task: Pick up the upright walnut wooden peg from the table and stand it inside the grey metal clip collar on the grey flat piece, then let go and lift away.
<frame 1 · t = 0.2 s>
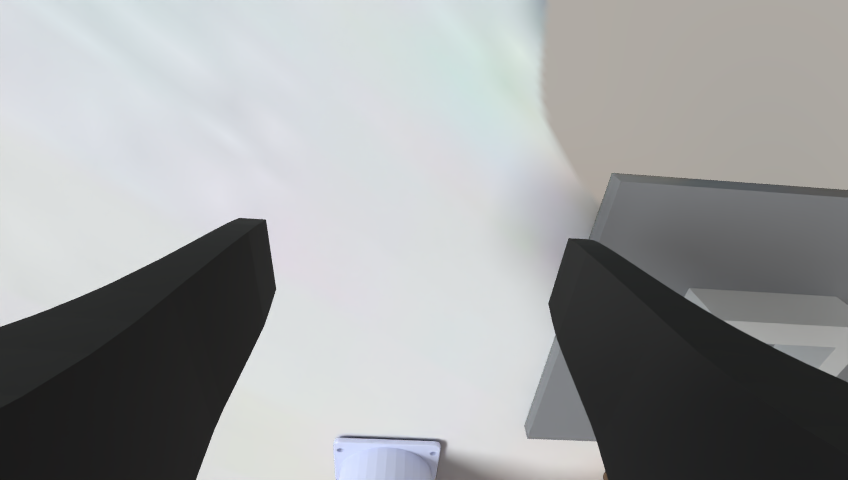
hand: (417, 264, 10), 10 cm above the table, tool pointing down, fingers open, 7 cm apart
grey flat piece: (716, 334, 25), on the table
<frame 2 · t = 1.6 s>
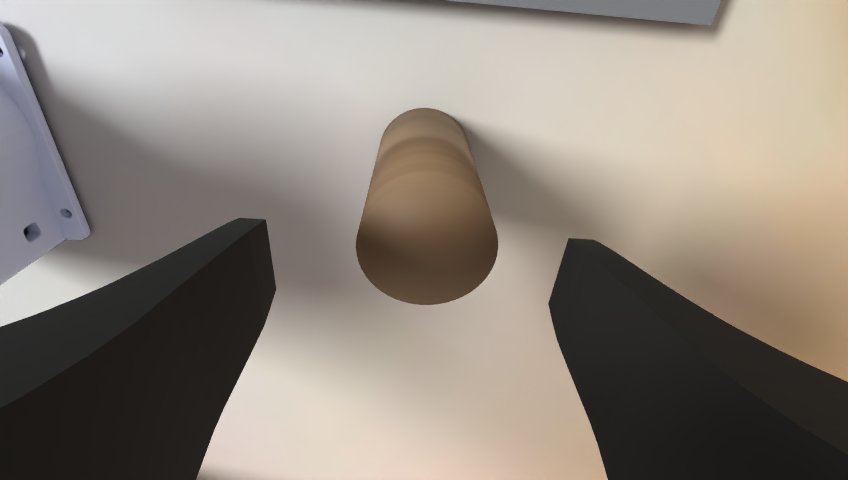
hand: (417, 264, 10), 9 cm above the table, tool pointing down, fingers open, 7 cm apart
walnut peg: (424, 153, 18), on the table
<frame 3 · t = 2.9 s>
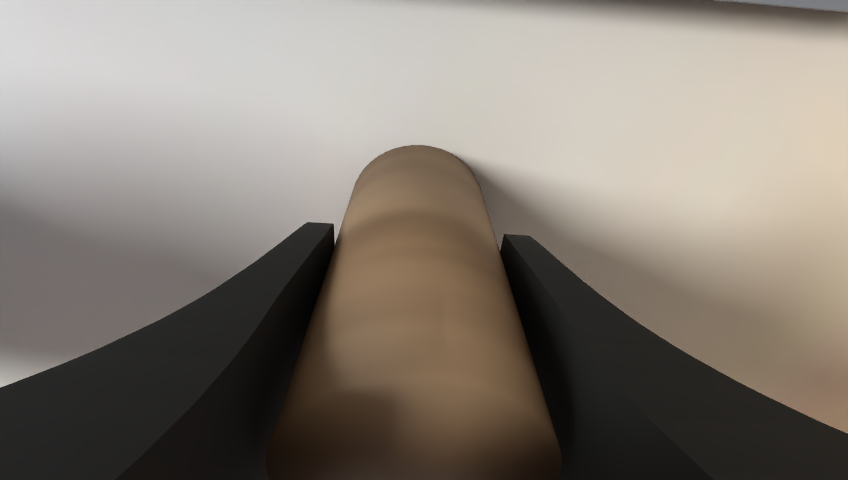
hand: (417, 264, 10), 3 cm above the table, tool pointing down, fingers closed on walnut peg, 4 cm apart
walnut peg: (417, 208, 12), on the table, touching gripper
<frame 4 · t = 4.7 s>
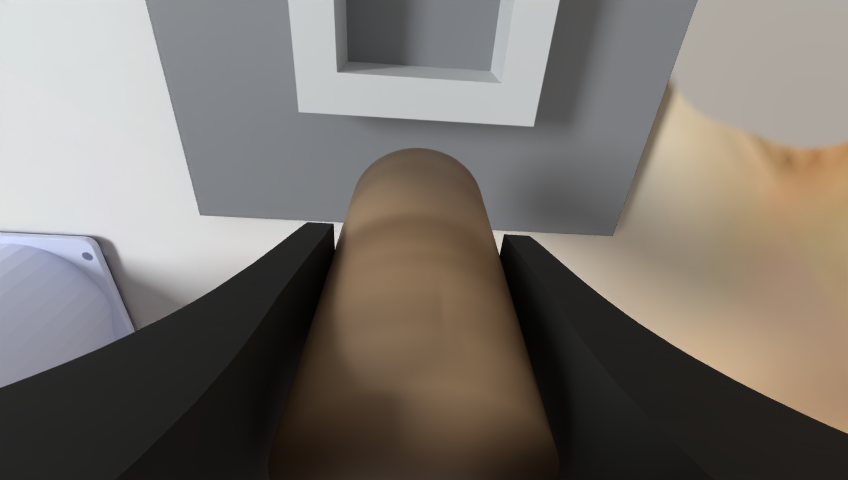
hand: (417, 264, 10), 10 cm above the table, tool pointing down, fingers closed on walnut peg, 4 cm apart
walnut peg: (417, 210, 12), point 7 cm above the table, touching gripper
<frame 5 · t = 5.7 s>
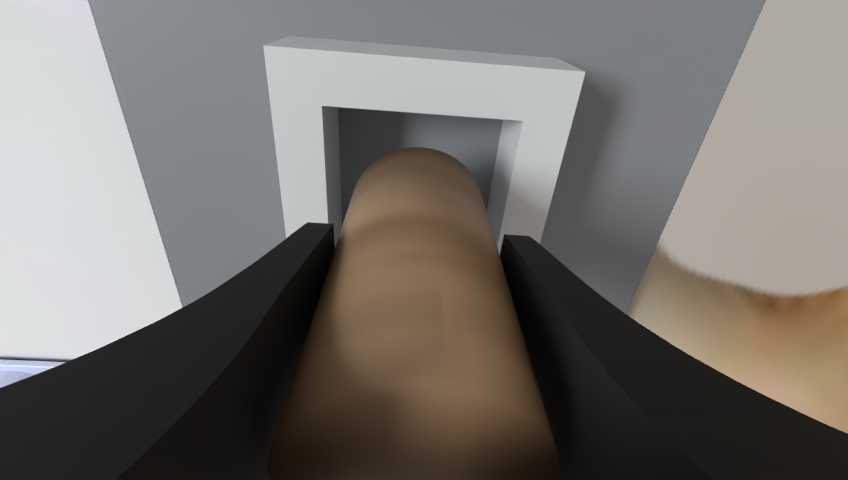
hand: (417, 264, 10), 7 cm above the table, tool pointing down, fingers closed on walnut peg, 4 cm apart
grey flat piece: (417, 163, 16), on the table
walnut peg: (417, 210, 12), point 4 cm above the table, touching gripper
when the fingers open (5 cm above the table, at t = 6.4 s): walnut peg drops 1 cm, resting on grey flat piece.
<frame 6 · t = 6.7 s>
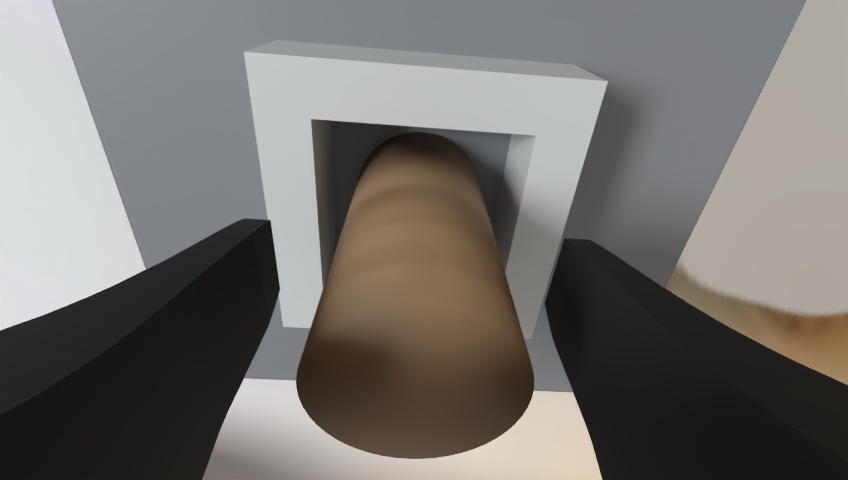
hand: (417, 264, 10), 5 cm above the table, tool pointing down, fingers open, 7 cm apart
grey flat piece: (417, 176, 14), on the table
walnut peg: (418, 190, 14), point 1 cm above the table, touching grey flat piece
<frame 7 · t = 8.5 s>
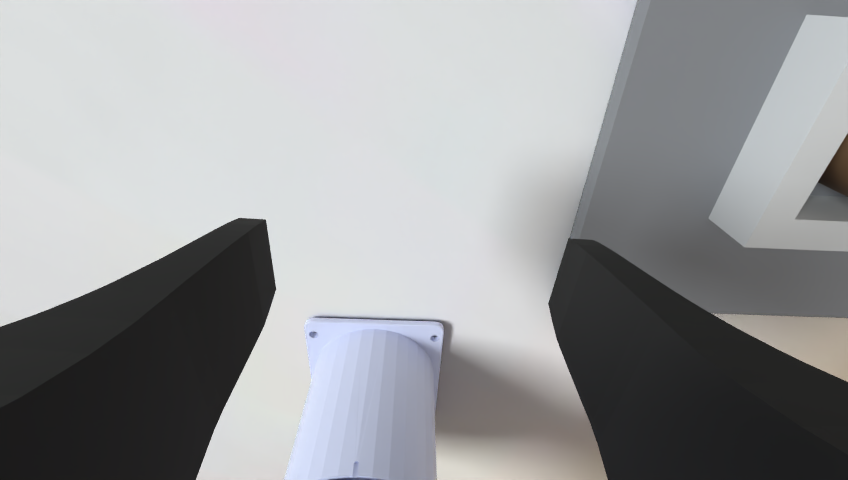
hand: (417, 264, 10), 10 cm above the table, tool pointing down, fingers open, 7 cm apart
grey flat piece: (827, 127, 18), on the table
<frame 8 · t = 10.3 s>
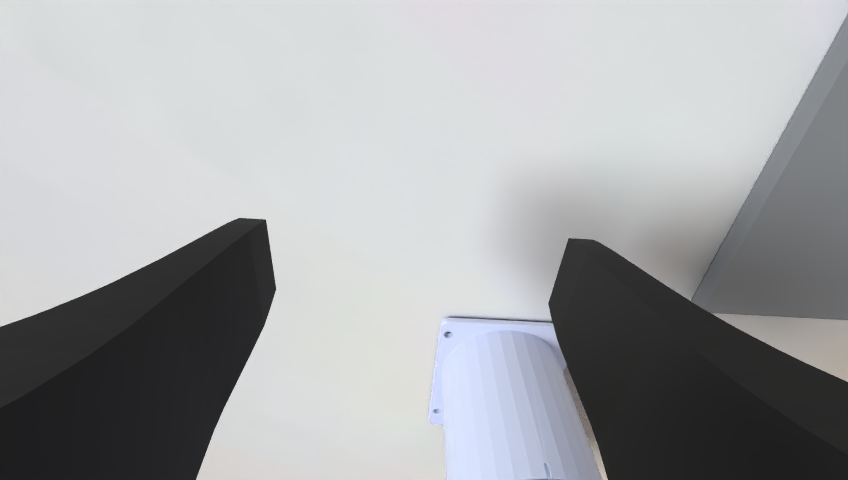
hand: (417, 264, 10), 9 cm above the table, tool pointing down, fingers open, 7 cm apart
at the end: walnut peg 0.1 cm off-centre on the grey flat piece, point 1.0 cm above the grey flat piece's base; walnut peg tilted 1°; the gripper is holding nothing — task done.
